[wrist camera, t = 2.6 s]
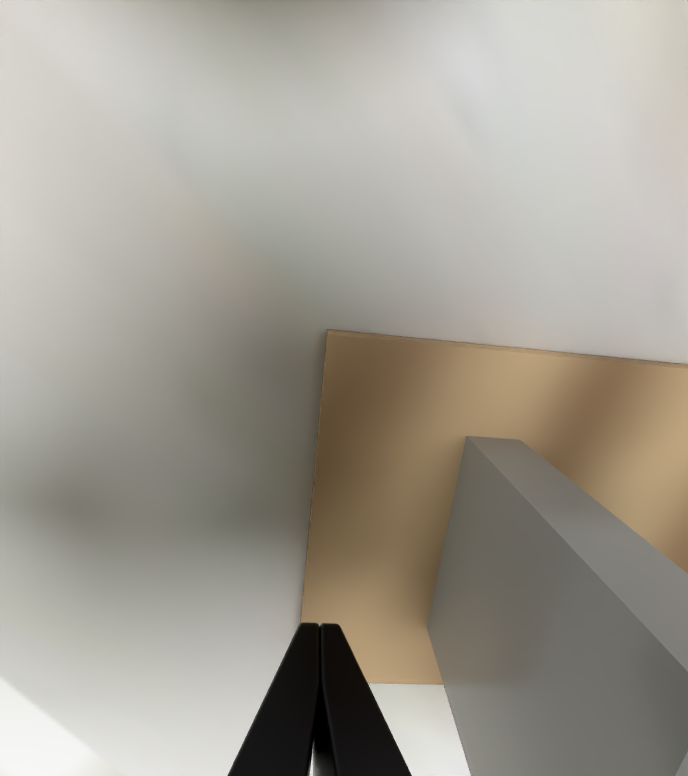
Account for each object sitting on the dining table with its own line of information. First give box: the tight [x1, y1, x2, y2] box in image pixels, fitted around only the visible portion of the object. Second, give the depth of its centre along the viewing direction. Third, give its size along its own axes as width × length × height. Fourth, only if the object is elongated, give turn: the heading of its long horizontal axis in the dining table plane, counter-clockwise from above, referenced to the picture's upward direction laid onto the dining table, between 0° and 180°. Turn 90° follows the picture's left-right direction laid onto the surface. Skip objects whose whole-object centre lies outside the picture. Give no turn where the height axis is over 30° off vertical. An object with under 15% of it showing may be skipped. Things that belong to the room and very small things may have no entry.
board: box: [301, 329, 688, 685], centre depth 12 cm, size 14×12×1 cm
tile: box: [427, 436, 688, 776], centre depth 8 cm, size 2×7×7 cm, turn 174°
